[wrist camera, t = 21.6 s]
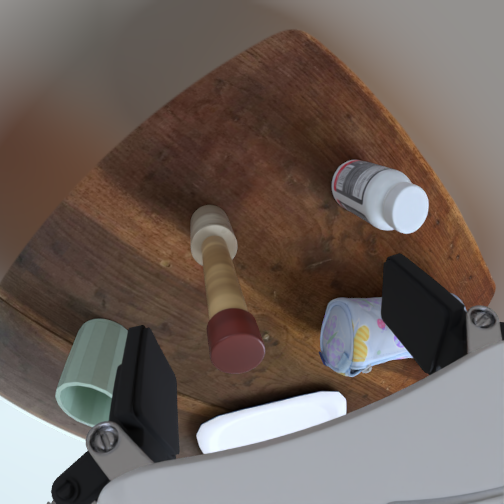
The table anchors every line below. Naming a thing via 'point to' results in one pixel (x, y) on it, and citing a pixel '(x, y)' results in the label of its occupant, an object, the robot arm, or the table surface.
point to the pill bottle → (380, 196)
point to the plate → (269, 420)
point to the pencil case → (358, 336)
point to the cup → (92, 371)
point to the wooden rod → (224, 294)
